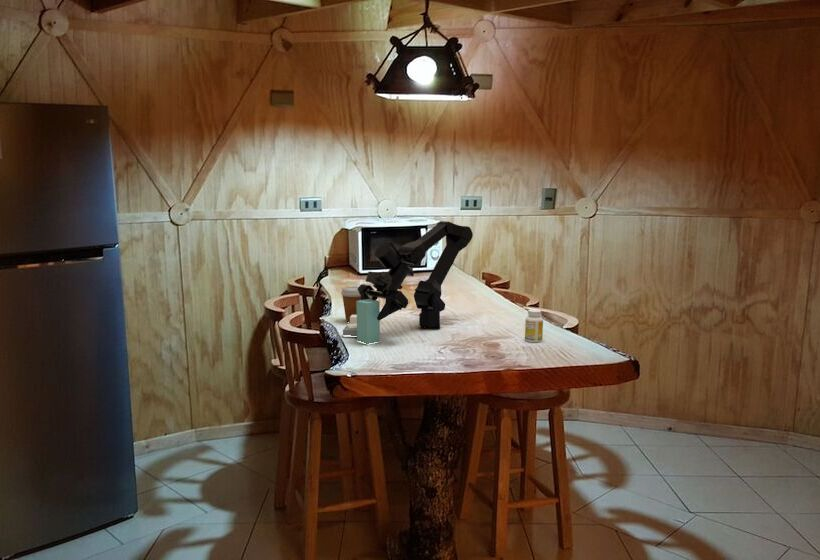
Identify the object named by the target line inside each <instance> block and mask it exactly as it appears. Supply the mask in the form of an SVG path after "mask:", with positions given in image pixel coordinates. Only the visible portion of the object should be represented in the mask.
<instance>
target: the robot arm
mask: <svg viewBox="0 0 820 560" xmlns="http://www.w3.org/2000/svg"><path fill="white" fill-rule="evenodd" d="M473 234H474V233H473V231H472V229H471V227H470V226H468V225H467V226H466V225H460V224H455V223H453V222H451V221H445V220H441V221H438V222H437V224H436V225H434V226H433V227H432V228H431V229H429V230H428V231H427V232H426V233H424V234H423V235H422V236H420V237H419V238H418V239H417V240H415V241H411V242H407V243H405V244H404V245H403V244H402V245H401V246H399V248H398V249H397V248H396V246H395V245H394V243H393V242H392V241H386V243H384V244H381V245H380V246H379V247H377V248H376V249H375V251H374V257H375V258H376V259H377V260H378V261H379V262H380V265H382V267H384V268H385V269H387V270H388V269H389V270H388V271H382V272H375V271H368V273H367V276H366V279H365V282H367V283H370V284H364V283H363V284H362V283H361V284H359V286H358V287H359V288H358V289H357V290H358V291H359V294H360V295H361V300H366V299H372V300H378V298H379V299H383V300H385V301H384V302H385V303H384V305H383V306H382V308H381V309H380V313H379V315H378V317H377V320H378V321H380V322H381V320H383V319H385V318H387V317H388V316H391V314H394V313H396V312H398V311H402V310H403V309H406V308H407V306H408V305H409V299H408V298H407V297H406V295H405V293H403V292H402V291H401V290H403V285H402V284H403V283H404V281H405V279H406V278H407V276H409V277H414V276H415V273H414V270H413V269H414V268H413V267H411V266H409V265H418V264H421V262H422V261H423V259H424V258H426V255H427V252H428V251H429V250H430V249H431V248H432V247H433V246H436V244H437V243H439V242H441V240H442V239H443V238H445V243H446V245H445V247H444V249H443V250H442V252H441V254H440V256H439V258H438V260H437V262H436V264H435V265H434V267H433V269H432V271H431V273H430V275H429V277H428V278H427V279H426V280H420V281H419V282H418V285H417V286H416V288H415V289H414V293H413V297H414V298H413V299H414V302H415V306H416V308H417V310H420V313H419V315H418V317H419V318H418V319H419V321H418V322H419V325H418V326H419V327H420V328H421V330H422V329H423V330H440V329H441V312H442V311H445V310H446V309H445V308H446V303H445V301H444V300H443V299H442V298H441V297H442V294H443V292H442V285H443V283H444V281H445V279H446V278H447V276H448V273H449V271H450V269H451V268H452V266H453V265H454V262H455V261H456V259H457V257H458V254H459V253H460V251H462V250H464V249H465V248H466V247H467V246H468V245H469V244H470V242H471V241H472V239H473V236H474V235H473ZM408 264H409V265H408ZM371 284H372V285H373V287H372V286H371Z"/></svg>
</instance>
